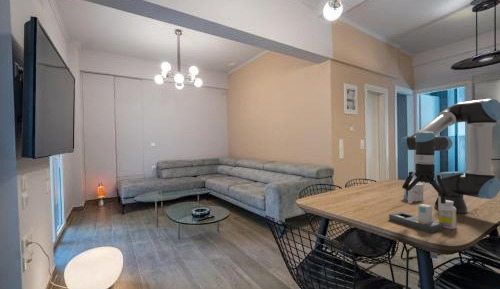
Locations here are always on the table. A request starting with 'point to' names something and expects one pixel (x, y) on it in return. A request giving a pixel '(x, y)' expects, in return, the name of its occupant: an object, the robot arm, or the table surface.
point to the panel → (415, 222)
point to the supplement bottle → (448, 215)
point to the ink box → (415, 192)
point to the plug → (425, 213)
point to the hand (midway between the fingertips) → (424, 206)
